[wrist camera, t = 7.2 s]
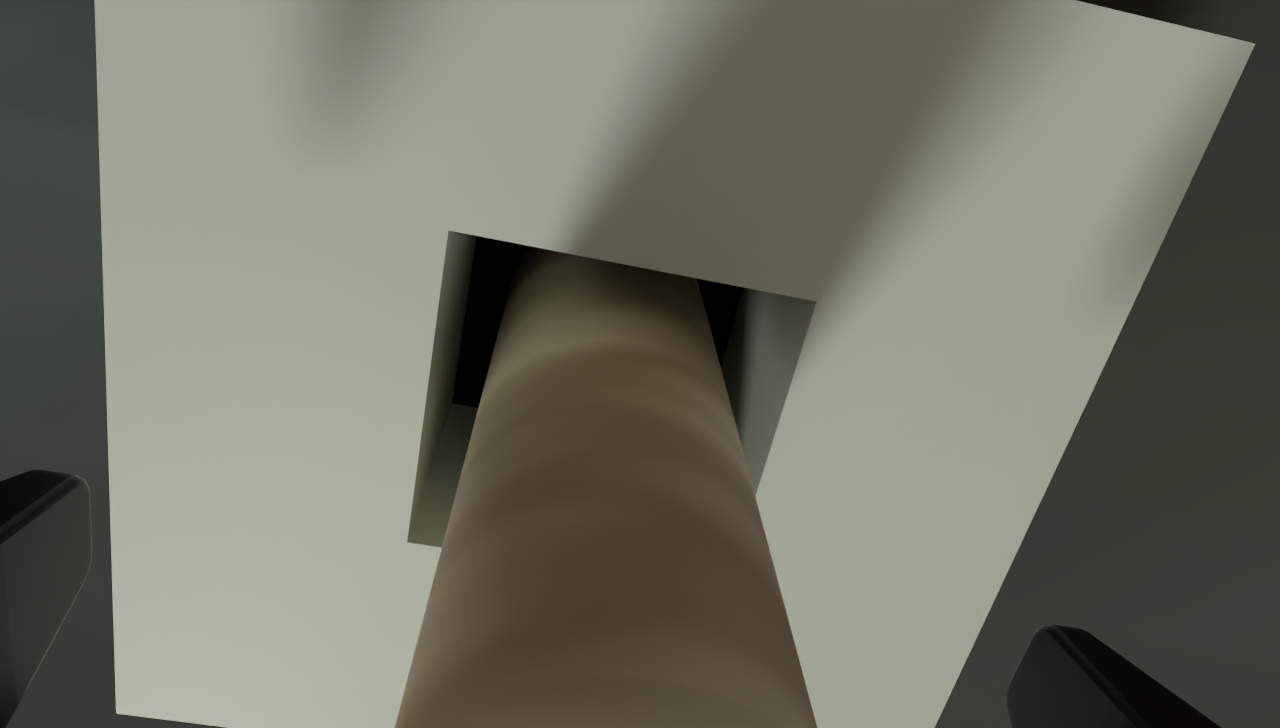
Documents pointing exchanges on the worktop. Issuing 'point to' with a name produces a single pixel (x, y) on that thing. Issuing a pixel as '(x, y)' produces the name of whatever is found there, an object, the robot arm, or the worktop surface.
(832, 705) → the hole block
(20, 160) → the worktop surface
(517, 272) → the long dowel
